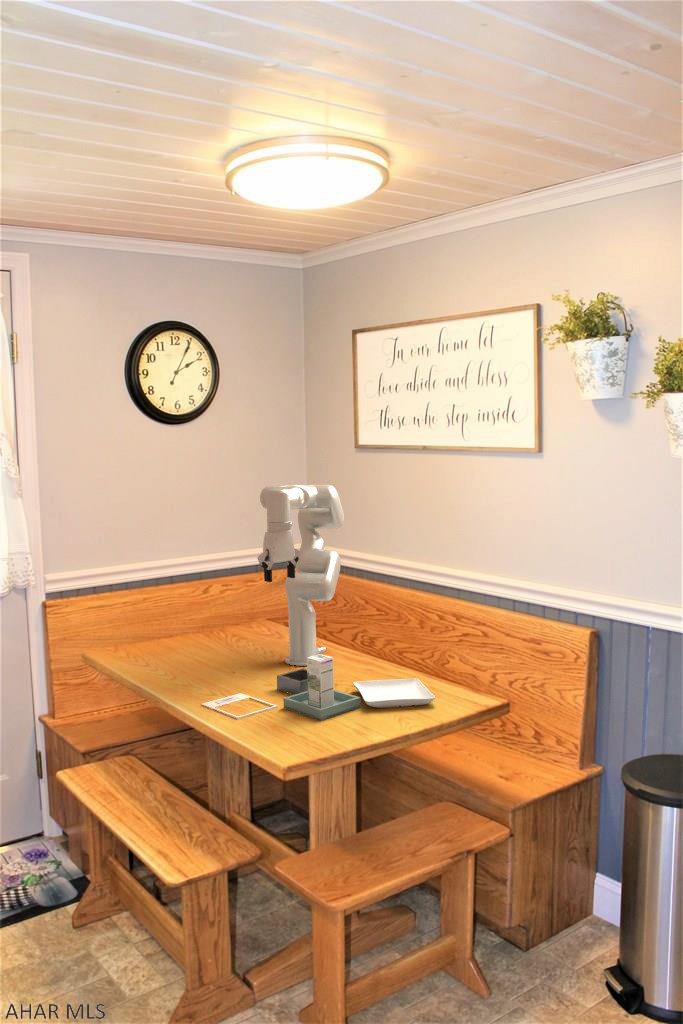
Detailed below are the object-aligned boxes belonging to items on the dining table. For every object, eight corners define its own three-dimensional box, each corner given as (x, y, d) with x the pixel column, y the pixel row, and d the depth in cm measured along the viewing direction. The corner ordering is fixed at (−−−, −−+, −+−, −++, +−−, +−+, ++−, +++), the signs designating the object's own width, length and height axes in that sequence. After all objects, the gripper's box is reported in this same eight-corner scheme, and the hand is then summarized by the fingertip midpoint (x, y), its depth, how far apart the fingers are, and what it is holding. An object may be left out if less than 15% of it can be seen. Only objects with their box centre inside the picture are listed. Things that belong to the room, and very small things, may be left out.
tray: (323, 695, 263) (323, 686, 263) (360, 707, 251) (360, 697, 251) (283, 708, 252) (283, 698, 251) (320, 720, 240) (320, 710, 240)
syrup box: (334, 704, 252) (334, 656, 250) (320, 709, 247) (320, 660, 246) (321, 700, 256) (320, 653, 254) (306, 705, 251) (306, 657, 250)
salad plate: (417, 687, 272) (417, 676, 272) (436, 708, 251) (436, 696, 251) (352, 691, 268) (351, 680, 268) (365, 713, 247) (365, 701, 247)
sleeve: (302, 682, 278) (302, 668, 277) (326, 689, 270) (326, 675, 269) (276, 689, 270) (276, 675, 270) (300, 696, 262) (299, 682, 262)
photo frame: (240, 692, 265) (277, 705, 252) (240, 696, 265) (277, 708, 252) (201, 703, 255) (237, 716, 242) (201, 706, 255) (237, 720, 242)
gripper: (291, 524, 284) (292, 575, 285) (250, 528, 272) (251, 581, 273) (306, 525, 278) (307, 577, 280) (265, 530, 266) (266, 584, 268)
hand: (279, 579), depth 277 cm, fingers open, 9 cm apart
